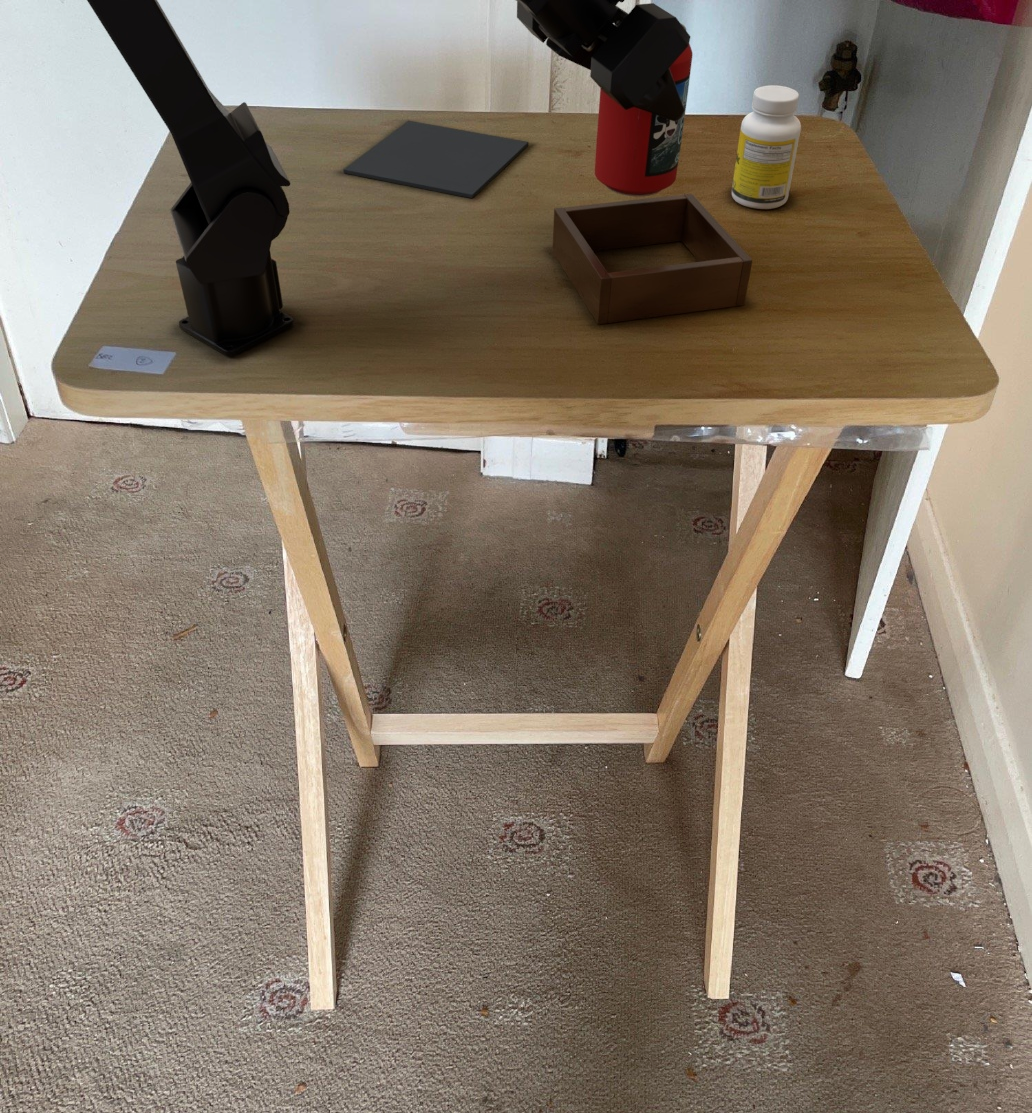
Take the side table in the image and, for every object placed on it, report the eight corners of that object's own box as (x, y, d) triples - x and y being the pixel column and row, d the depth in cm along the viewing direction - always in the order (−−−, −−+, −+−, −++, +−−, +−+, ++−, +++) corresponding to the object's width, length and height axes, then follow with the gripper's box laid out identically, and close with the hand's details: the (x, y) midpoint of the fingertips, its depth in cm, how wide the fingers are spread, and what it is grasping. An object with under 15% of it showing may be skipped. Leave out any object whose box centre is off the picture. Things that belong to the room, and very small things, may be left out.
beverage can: (675, 204, 83) (697, 43, 75) (591, 198, 83) (603, 38, 75) (674, 169, 88) (694, 15, 80) (595, 164, 88) (606, 10, 80)
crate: (597, 324, 82) (601, 278, 79) (552, 251, 91) (554, 207, 88) (744, 305, 85) (752, 259, 82) (686, 236, 93) (692, 193, 91)
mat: (472, 198, 98) (472, 194, 98) (343, 173, 102) (343, 169, 102) (528, 145, 108) (528, 141, 108) (408, 123, 112) (408, 120, 112)
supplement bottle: (745, 181, 102) (763, 77, 95) (796, 196, 100) (818, 90, 93) (720, 200, 99) (736, 94, 92) (772, 216, 97) (792, 108, 90)
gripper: (682, -125, 62) (801, 53, 73) (561, -177, 75) (677, -18, 85) (554, 28, 65) (686, 177, 76) (459, -46, 78) (583, 91, 89)
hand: (658, 99), depth 81 cm, fingers closed on beverage can, 7 cm apart
